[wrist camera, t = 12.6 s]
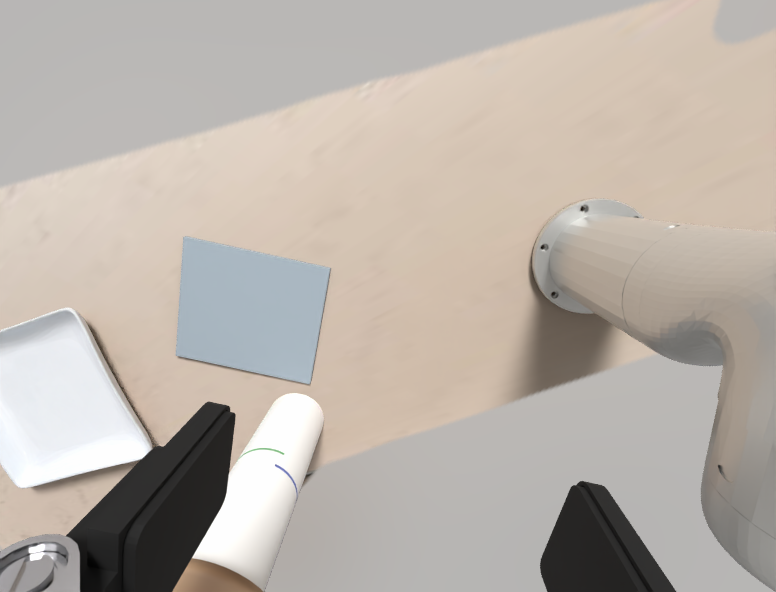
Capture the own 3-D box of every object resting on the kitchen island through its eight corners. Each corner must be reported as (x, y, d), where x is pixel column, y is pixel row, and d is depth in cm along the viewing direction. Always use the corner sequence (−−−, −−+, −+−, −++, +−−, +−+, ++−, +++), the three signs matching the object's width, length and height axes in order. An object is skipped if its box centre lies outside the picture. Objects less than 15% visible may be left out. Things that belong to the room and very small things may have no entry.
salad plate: (39, 475, 54) (15, 493, 51) (-47, 342, 49) (-80, 353, 46) (170, 440, 52) (153, 457, 48) (94, 296, 47) (70, 304, 43)
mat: (330, 267, 44) (330, 268, 43) (310, 382, 48) (309, 384, 47) (185, 236, 44) (183, 236, 43) (178, 353, 48) (175, 355, 47)
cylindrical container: (301, 451, 51) (206, 685, 27) (258, 418, 50) (120, 632, 26) (335, 416, 49) (267, 633, 25) (291, 382, 48) (177, 574, 24)
